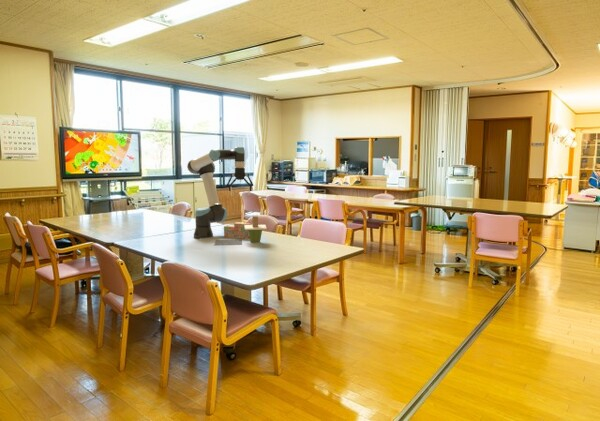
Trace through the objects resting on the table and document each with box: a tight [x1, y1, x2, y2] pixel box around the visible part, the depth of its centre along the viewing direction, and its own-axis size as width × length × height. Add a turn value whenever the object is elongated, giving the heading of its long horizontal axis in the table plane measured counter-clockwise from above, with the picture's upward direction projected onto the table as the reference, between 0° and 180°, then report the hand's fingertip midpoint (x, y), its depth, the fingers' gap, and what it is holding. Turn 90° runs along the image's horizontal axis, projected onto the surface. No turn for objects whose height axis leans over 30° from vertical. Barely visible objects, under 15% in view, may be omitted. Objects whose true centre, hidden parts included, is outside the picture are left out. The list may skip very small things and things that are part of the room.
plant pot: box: [248, 230, 263, 244], centre depth 307 cm, size 12×12×11 cm
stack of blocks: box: [223, 221, 252, 240], centre depth 325 cm, size 21×6×12 cm, turn 73°
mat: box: [213, 238, 243, 247], centre depth 305 cm, size 20×20×1 cm
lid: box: [244, 214, 268, 231], centre depth 306 cm, size 16×16×9 cm
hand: (240, 195), depth 313 cm, fingers open, 13 cm apart
